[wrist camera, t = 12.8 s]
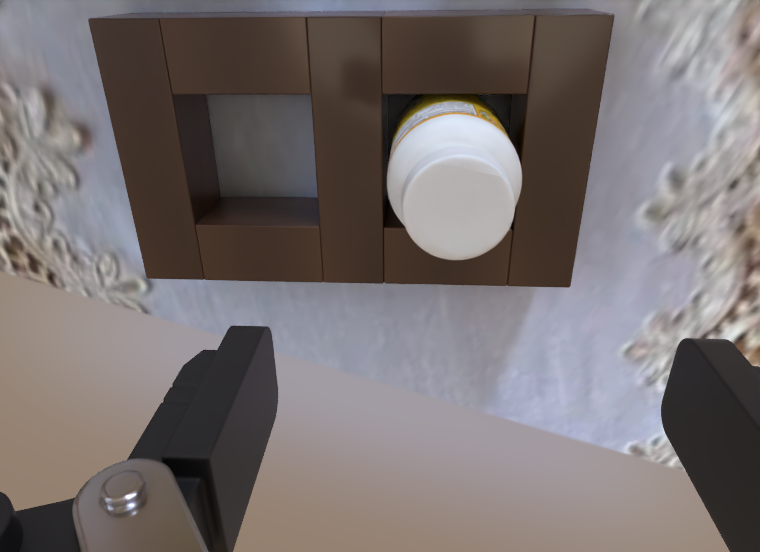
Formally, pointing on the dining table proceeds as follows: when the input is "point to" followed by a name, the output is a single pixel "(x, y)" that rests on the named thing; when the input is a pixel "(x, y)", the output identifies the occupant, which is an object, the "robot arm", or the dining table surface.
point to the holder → (348, 136)
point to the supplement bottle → (453, 175)
